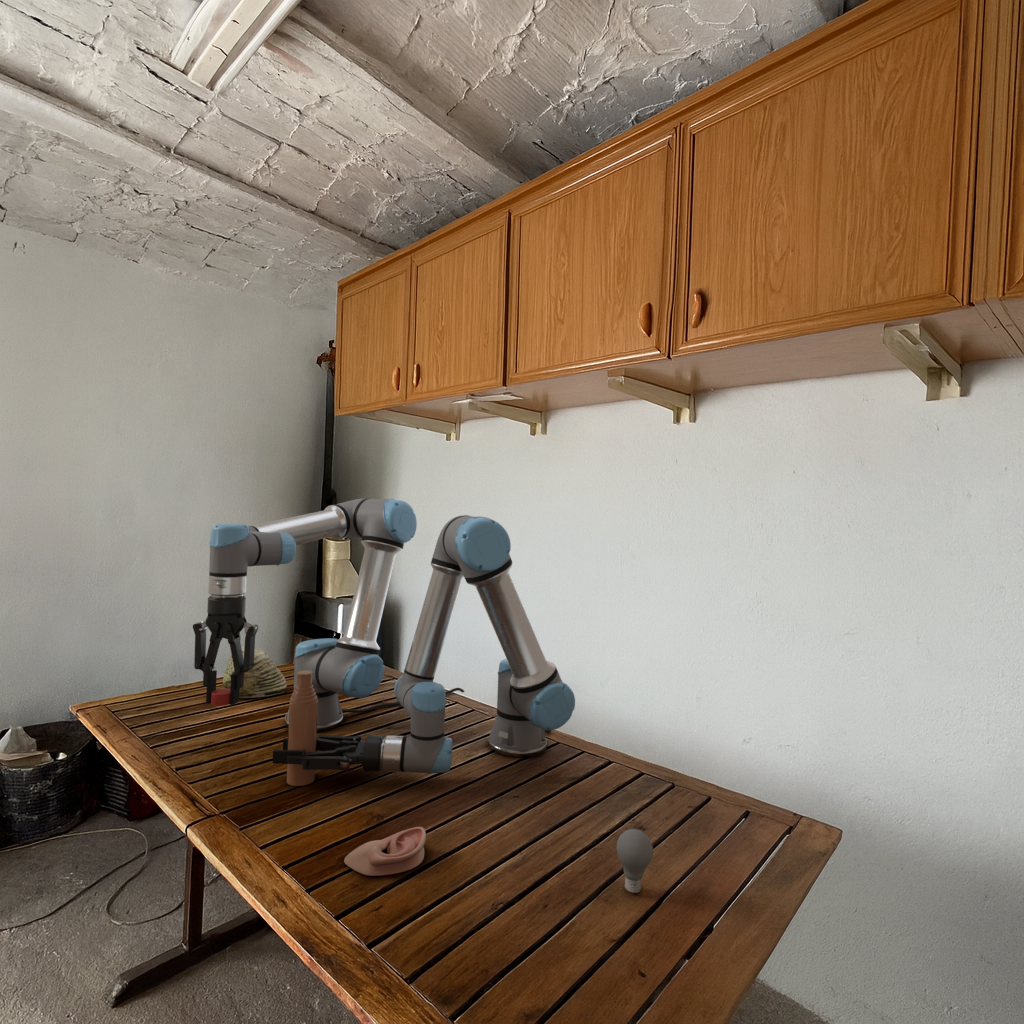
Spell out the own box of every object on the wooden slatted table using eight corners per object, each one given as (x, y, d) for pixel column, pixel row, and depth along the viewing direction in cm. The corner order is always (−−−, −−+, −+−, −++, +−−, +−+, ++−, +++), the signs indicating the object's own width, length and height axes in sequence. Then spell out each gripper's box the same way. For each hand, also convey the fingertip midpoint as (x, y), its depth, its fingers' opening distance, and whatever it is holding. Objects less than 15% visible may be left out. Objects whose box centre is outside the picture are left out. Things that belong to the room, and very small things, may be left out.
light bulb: (610, 879, 108) (613, 822, 108) (644, 879, 109) (647, 822, 109) (619, 902, 102) (622, 840, 102) (655, 901, 103) (658, 840, 103)
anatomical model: (336, 847, 108) (365, 815, 119) (335, 870, 108) (364, 836, 119) (410, 859, 105) (432, 825, 116) (409, 883, 105) (431, 846, 116)
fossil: (218, 695, 195) (220, 647, 195) (278, 685, 208) (279, 640, 207) (228, 703, 189) (230, 653, 188) (289, 692, 201) (290, 645, 201)
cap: (209, 706, 134) (209, 695, 134) (212, 699, 139) (212, 688, 139) (232, 704, 136) (233, 693, 136) (234, 698, 140) (235, 687, 140)
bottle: (281, 779, 141) (285, 671, 141) (306, 771, 145) (310, 667, 145) (294, 788, 137) (298, 677, 136) (319, 780, 141) (323, 673, 141)
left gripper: (177, 595, 133) (173, 705, 134) (260, 599, 133) (255, 710, 133) (196, 590, 141) (191, 695, 141) (274, 594, 141) (269, 699, 141)
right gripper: (374, 789, 132) (262, 786, 131) (389, 753, 151) (291, 750, 150) (375, 753, 132) (263, 750, 131) (390, 721, 151) (292, 718, 150)
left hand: (222, 702), depth 137 cm, fingers closed on cap, 4 cm apart
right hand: (278, 750), depth 141 cm, fingers closed on bottle, 6 cm apart
